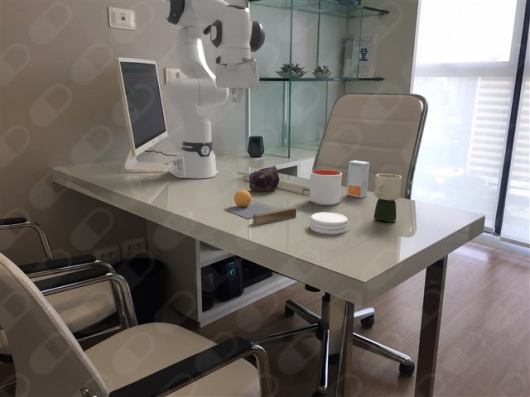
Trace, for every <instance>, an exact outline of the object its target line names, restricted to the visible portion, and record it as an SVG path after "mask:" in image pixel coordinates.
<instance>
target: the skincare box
mask: <svg viewBox="0 0 530 397" xmlns="http://www.w3.org/2000/svg"><path fill="white" fill-rule="evenodd" d="M370 164H371V163H370V162H368V161H362V160H350V161H348V169H347V170H348V172H347V183H346V186H347V187H346V196H347V195H348V196H353V197H356V198H360V199H361V198H365V197H367V195H368V190H369V189H368V187H369V176H370V175H369V174H370Z"/></svg>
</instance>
